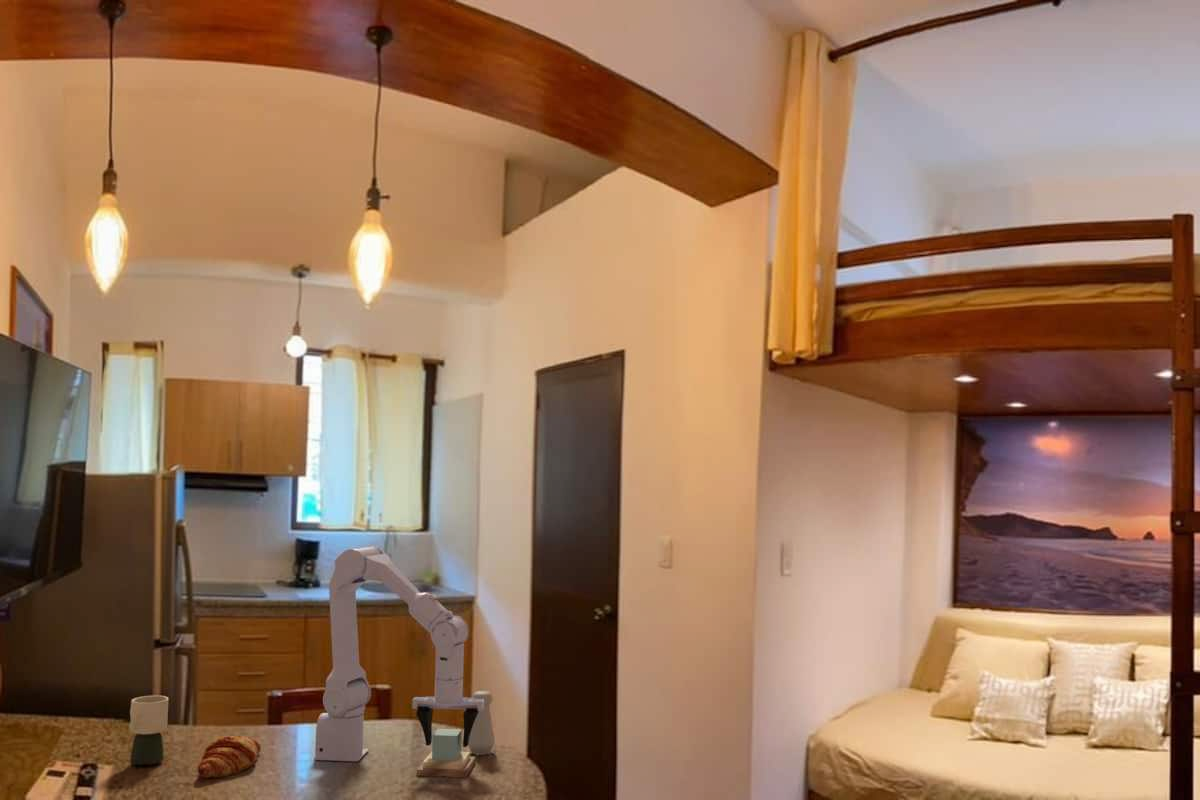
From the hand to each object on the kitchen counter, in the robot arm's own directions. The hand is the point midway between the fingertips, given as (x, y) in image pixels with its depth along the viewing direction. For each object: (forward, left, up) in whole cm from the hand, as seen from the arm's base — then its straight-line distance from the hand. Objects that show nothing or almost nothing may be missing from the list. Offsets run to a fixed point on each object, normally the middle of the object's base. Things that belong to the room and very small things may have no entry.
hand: (447, 744), depth 204 cm
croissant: (-43, -4, -5) cm, 44 cm away
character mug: (-61, -4, -5) cm, 61 cm away
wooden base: (0, 0, -5) cm, 5 cm away
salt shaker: (+5, +12, -5) cm, 14 cm away
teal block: (0, 0, -2) cm, 2 cm away
